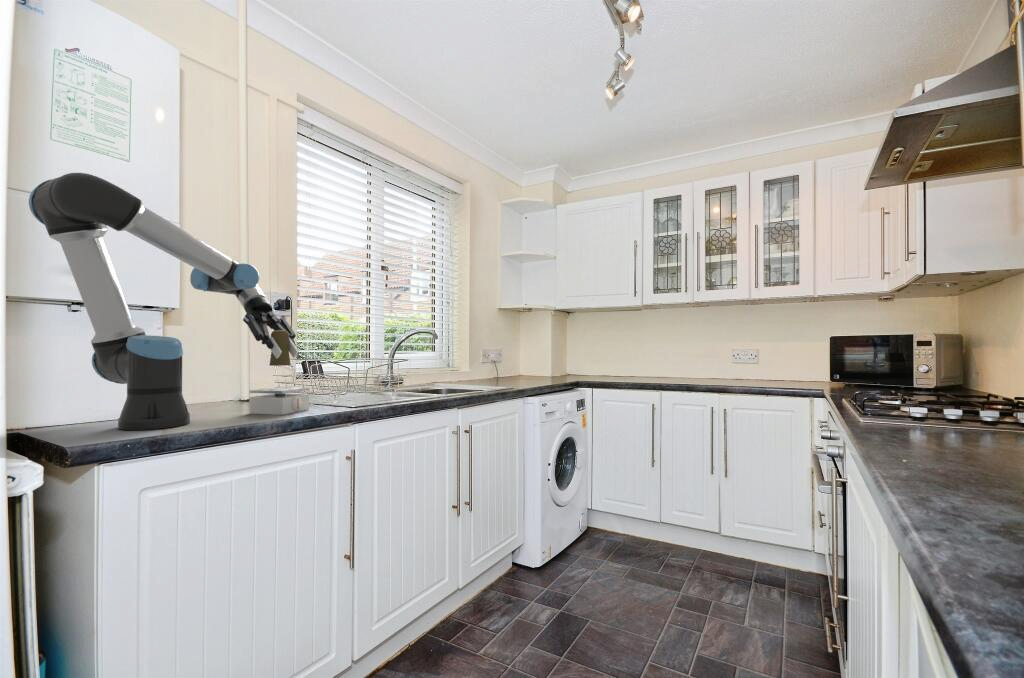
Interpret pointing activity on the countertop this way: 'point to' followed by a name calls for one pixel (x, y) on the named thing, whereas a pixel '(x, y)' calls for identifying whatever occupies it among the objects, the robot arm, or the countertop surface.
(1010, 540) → the countertop surface
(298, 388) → the scale pan
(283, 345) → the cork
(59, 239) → the robot arm
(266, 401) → the kitchen scale
